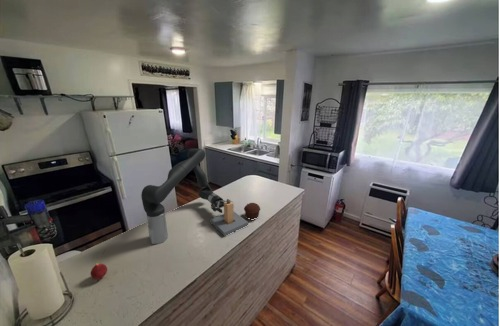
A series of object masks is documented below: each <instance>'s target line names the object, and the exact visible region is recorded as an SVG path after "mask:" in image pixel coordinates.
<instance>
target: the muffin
mask: <svg viewBox="0 0 500 326" xmlns="http://www.w3.org/2000/svg"><path fill="white" fill-rule="evenodd" d="M243 210H244V213H245V218H246V217H247V218H250V219H254V218H257V217H258V218H259V215H260V211H261V206H259V204H257V203H255V202H250V203H247V204H246V205H245V206H244V208H243ZM247 218H246V219H247ZM258 218H257V219H258Z"/></svg>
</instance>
